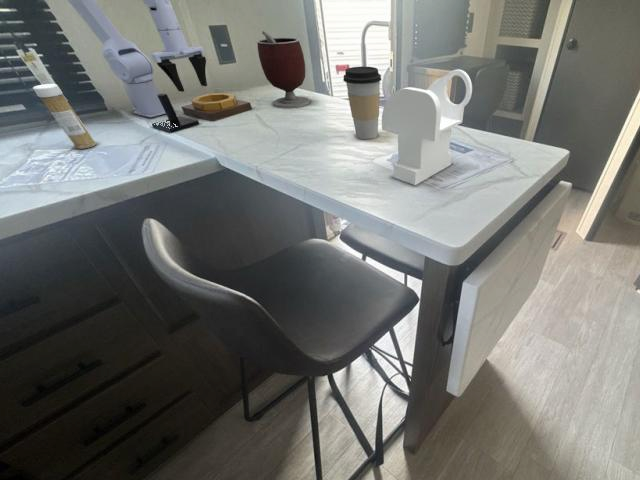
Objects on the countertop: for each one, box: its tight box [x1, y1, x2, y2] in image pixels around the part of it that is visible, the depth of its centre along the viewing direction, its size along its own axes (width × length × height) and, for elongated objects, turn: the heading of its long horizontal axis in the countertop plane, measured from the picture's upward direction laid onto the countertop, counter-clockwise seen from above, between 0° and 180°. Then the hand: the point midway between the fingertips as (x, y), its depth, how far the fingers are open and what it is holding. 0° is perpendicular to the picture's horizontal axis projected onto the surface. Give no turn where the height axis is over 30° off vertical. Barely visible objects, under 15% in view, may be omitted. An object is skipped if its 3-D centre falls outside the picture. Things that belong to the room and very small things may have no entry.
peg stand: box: [151, 93, 200, 134], centre depth 90 cm, size 9×9×8 cm
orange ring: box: [190, 92, 238, 110], centre depth 101 cm, size 13×13×2 cm
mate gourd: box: [256, 30, 310, 109], centre depth 102 cm, size 16×14×20 cm
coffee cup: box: [342, 66, 382, 140], centre depth 81 cm, size 9×9×15 cm
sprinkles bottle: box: [32, 83, 97, 150], centre depth 77 cm, size 5×5×14 cm
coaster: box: [180, 99, 253, 122], centre depth 103 cm, size 15×15×2 cm
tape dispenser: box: [381, 68, 473, 186], centre depth 64 cm, size 14×13×18 cm
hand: (193, 88), depth 95 cm, fingers open, 7 cm apart
